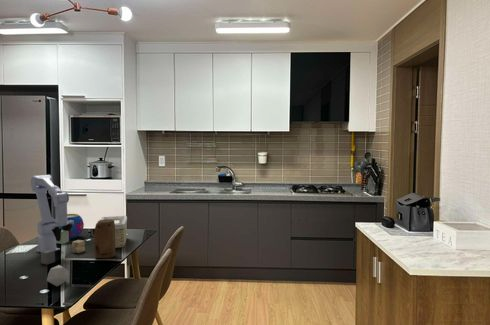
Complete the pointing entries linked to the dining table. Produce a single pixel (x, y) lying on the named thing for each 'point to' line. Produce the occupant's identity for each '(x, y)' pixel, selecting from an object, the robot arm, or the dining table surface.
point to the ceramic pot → (75, 225)
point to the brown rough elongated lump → (104, 239)
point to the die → (57, 275)
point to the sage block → (64, 237)
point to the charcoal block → (48, 256)
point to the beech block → (78, 246)
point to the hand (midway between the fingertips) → (62, 239)
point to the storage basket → (119, 230)
